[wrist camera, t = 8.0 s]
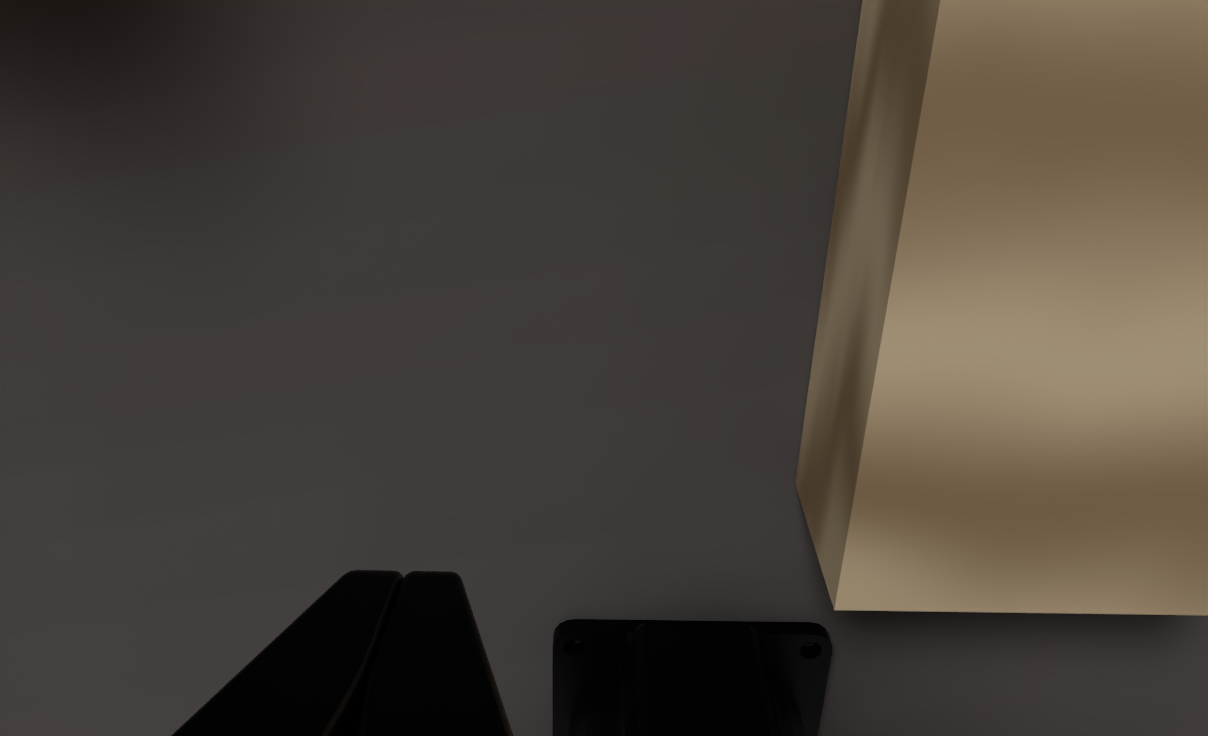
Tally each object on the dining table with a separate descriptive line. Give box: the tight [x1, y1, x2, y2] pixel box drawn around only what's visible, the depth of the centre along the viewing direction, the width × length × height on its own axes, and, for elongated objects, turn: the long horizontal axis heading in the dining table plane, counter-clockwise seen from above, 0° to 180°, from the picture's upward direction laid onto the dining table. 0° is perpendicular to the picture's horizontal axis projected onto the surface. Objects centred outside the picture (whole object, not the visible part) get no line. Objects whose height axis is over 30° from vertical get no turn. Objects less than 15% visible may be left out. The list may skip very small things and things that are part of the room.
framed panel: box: [795, 0, 1208, 615], centre depth 16 cm, size 18×8×4 cm, turn 179°
